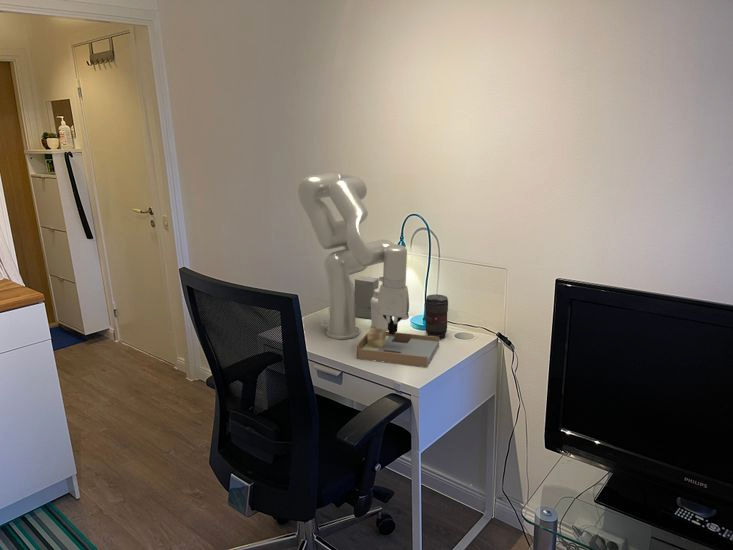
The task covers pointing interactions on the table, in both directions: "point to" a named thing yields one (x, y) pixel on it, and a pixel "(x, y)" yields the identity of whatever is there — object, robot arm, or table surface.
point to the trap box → (400, 349)
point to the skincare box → (364, 295)
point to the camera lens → (436, 315)
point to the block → (376, 338)
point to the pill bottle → (375, 318)
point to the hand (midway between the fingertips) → (392, 332)
